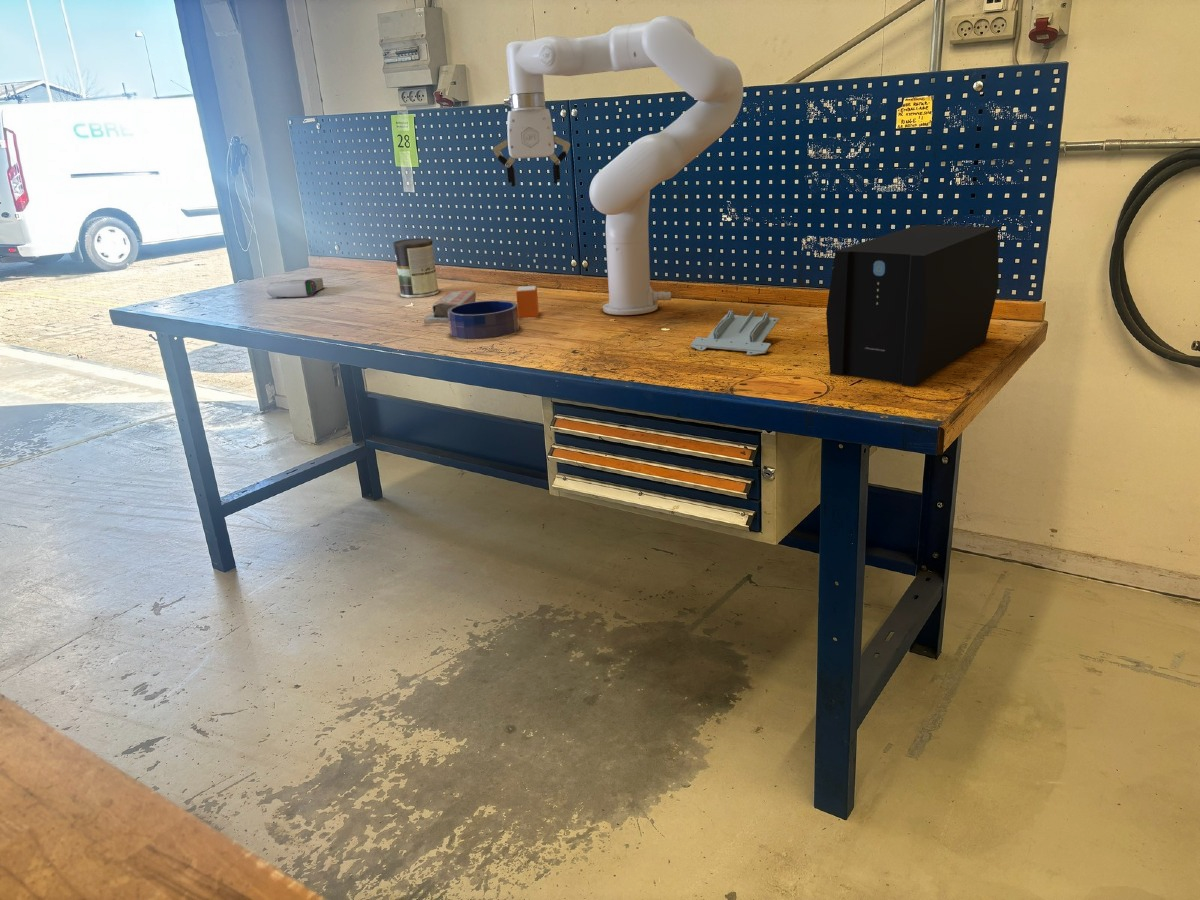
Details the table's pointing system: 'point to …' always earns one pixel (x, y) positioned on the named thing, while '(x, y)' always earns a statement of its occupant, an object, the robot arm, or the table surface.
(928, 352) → the uninterruptible power supply
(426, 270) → the coffee can
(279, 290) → the infrared thermometer
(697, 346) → the metal bracket
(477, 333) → the bowl
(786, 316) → the table surface
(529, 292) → the carton
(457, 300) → the packaged product
